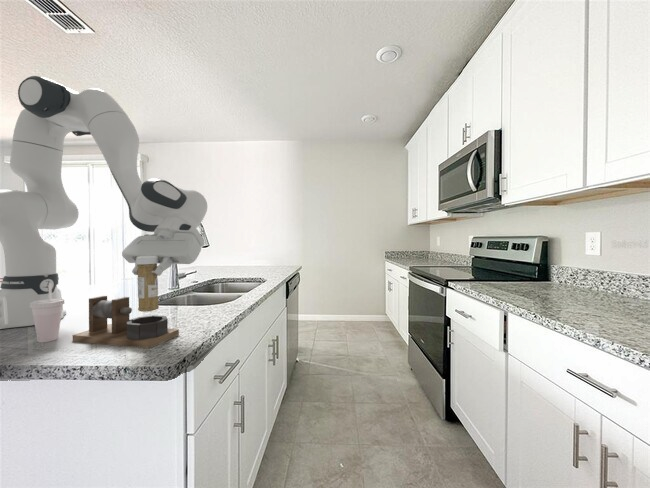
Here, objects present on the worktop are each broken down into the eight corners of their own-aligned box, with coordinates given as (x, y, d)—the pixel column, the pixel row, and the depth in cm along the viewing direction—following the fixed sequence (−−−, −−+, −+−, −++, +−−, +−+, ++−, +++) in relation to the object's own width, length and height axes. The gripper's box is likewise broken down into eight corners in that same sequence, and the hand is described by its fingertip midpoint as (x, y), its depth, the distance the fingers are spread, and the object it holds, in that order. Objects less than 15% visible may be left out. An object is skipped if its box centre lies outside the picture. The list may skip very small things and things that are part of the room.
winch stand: (72, 341, 74) (72, 300, 74) (109, 329, 84) (109, 293, 84) (149, 348, 69) (148, 305, 69) (178, 335, 79) (178, 297, 79)
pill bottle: (159, 310, 75) (158, 256, 74) (137, 313, 72) (136, 257, 72) (158, 306, 79) (157, 255, 78) (137, 309, 76) (136, 256, 76)
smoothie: (71, 337, 77) (70, 282, 77) (40, 345, 71) (39, 286, 71) (54, 334, 79) (54, 281, 79) (23, 342, 73) (23, 284, 73)
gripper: (134, 226, 84) (102, 264, 75) (200, 226, 80) (174, 266, 70) (147, 242, 88) (118, 280, 79) (210, 242, 84) (187, 282, 75)
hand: (145, 273), depth 75 cm, fingers closed on pill bottle, 4 cm apart
